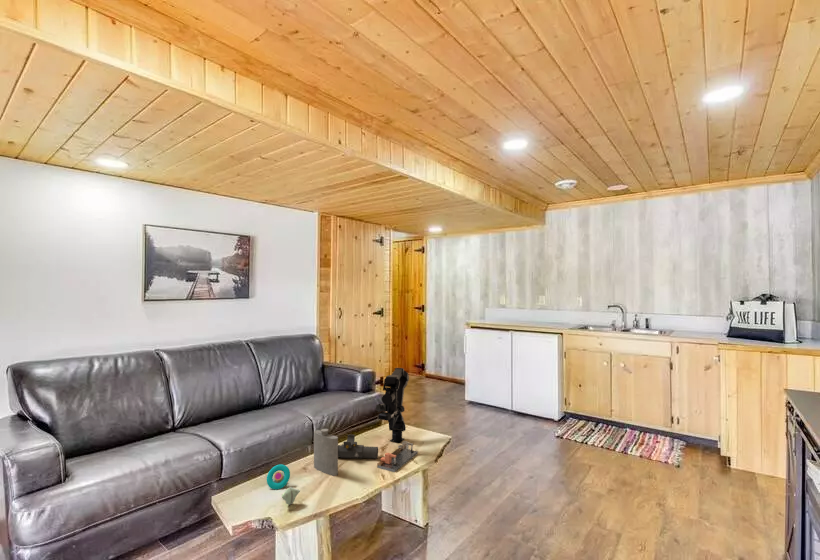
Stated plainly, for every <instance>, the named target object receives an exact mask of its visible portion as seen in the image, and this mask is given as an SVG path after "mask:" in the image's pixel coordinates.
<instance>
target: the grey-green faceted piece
mask: <svg viewBox="0 0 820 560" xmlns="http://www.w3.org/2000/svg"><path fill="white" fill-rule="evenodd" d="M300 493H301V490H300V489H298V488H293V487H291V486H289V487H288V488H286V490H285V491H284V493H283V494H281V499H282V500H284V501H285V503H286V504H287V505H289V506H291V505H292V504H293V503H294V502H295V501H296V498H297V496H298V495H299V494H300Z"/></svg>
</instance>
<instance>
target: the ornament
mask: <svg viewBox="0 0 820 560" xmlns="http://www.w3.org/2000/svg"><path fill="white" fill-rule="evenodd" d="M290 479H291V471H290V469H289V467H288V466H287V465H285V464H282V463H279V464H277V465H274V466H273V467H272V468H271V469H270V470H269V471H268V472H267V475H266V484H267V486H268V487H269V488H270V489H271V490H281V489H283V488H285V486H286V485H287V484H288V483H289V482H290V481H289V480H290Z"/></svg>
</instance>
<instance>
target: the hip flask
mask: <svg viewBox="0 0 820 560" xmlns="http://www.w3.org/2000/svg"><path fill="white" fill-rule="evenodd" d="M338 445H339V437H338V436H336V435H332V434H330V433H329V428H322V429H316V430H314V431H313V468H314V469H316V470H317V471H318V472H321V473H323V474H325V475H328V476H333V477H334V476H335V477H336V476H337V475H339V473H338V472H339V470H338V469H339V462H338V461H339V457H338Z"/></svg>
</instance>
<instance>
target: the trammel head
mask: <svg viewBox="0 0 820 560" xmlns="http://www.w3.org/2000/svg"><path fill="white" fill-rule="evenodd" d="M391 453H392V452H386V453H384V456H383V457H381V458H380V461H385V463H387V464H390V463H391V461H392V457H394V464H396V455H393V454H391Z"/></svg>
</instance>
